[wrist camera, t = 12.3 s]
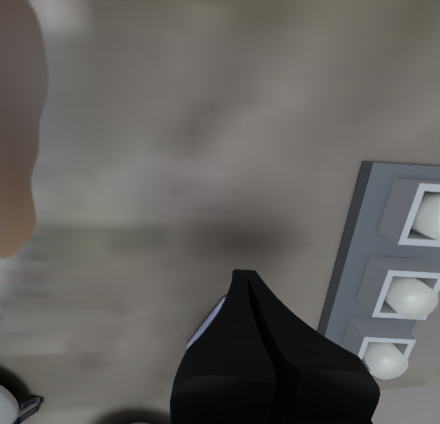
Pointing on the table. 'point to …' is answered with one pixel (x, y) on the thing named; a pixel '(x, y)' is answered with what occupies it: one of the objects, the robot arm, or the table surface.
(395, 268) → the control panel
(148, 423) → the cereal bowl
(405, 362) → the knob
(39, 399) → the coffee press
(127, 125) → the table surface
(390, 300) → the knob mid
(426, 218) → the knob
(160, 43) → the table surface
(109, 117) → the table surface
